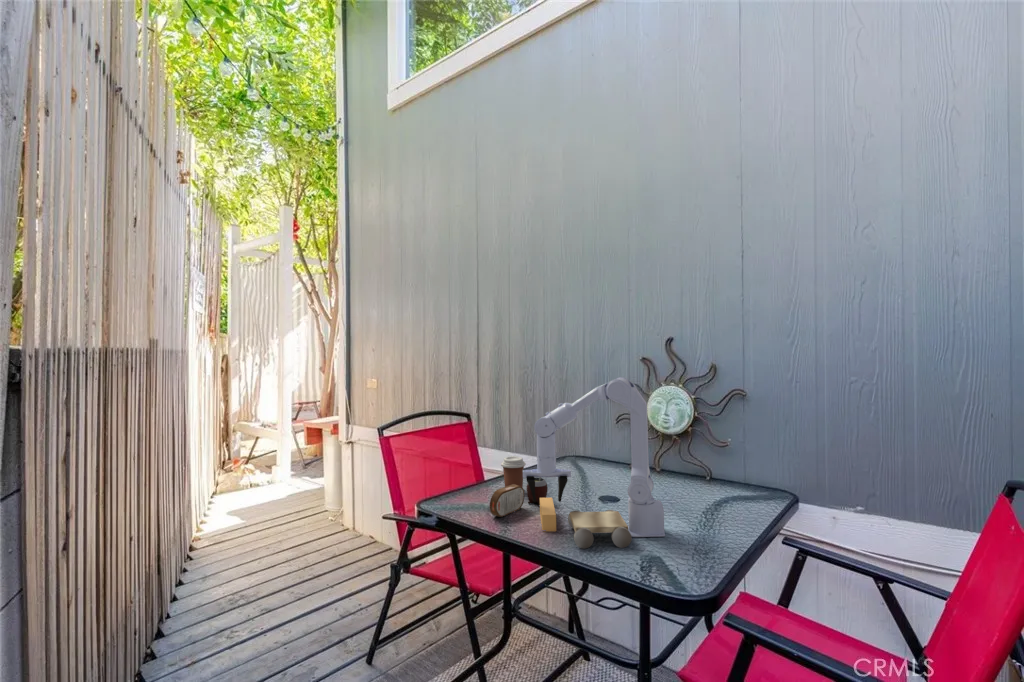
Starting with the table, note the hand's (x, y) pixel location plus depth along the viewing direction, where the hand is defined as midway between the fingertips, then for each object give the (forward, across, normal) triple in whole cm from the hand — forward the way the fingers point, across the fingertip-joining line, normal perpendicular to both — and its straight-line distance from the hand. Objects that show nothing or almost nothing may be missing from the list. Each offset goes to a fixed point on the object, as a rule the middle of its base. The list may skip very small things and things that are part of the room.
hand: (547, 500), depth 148 cm
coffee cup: (+6, +10, -32) cm, 34 cm away
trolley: (+6, -13, +13) cm, 19 cm away
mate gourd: (+6, +2, -18) cm, 19 cm away
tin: (+6, +12, -8) cm, 16 cm away
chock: (+6, 0, 0) cm, 6 cm away
